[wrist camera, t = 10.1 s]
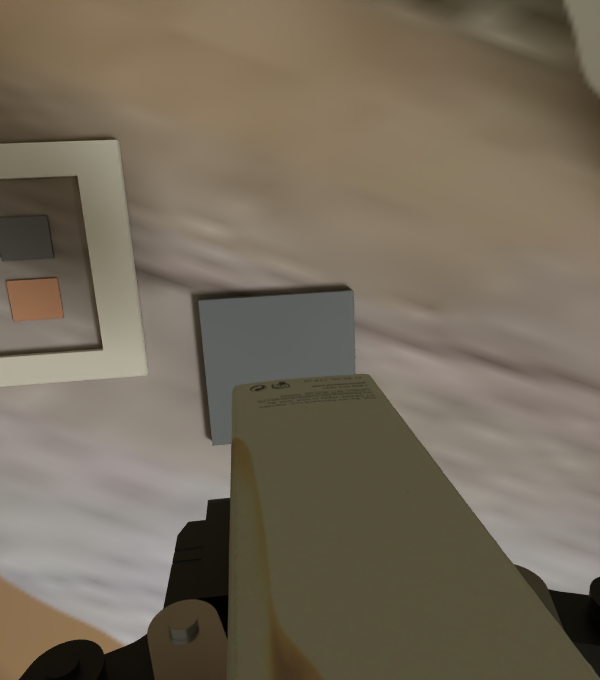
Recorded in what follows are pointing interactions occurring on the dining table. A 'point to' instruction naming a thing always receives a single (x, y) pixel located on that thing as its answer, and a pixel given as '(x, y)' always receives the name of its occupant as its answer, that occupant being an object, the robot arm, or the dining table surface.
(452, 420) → the dining table surface
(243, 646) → the skincare box
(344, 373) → the tile
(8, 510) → the dining table surface
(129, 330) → the flat square frame
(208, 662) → the robot arm
